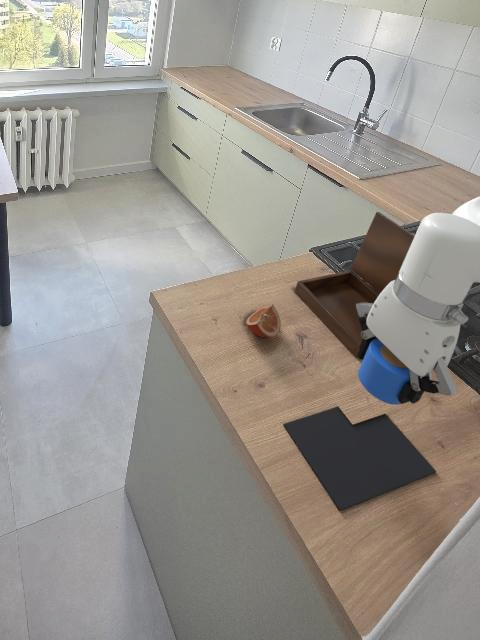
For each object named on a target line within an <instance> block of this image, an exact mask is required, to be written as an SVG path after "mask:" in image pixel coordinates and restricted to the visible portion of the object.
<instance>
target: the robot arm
mask: <svg viewBox="0 0 480 640" xmlns="http://www.w3.org/2000/svg"><path fill="white" fill-rule="evenodd" d="M414 234H415V237H414V239H413V241H412V244H411V246H410V248H409V250H408V253H407V255H406V257H405V260H404V262H403V264H402V267H401V269H400V271H399V273H398V275H397V278H396V280H393V281H391V282H390V283H389V284H388V285H387V286H386V287H385V288H384V290H383V291H382V292H381V293H379V294H380V295H379V296H378V298H377V299H376V301H375V302H374V304H373V303H364V302H362V303H358V304H356V308H357V312H358V315H359V316H360V318H359V322H360V325H361V328H362V332H361V336H362V338H363V340H362V342H361V344H360V346H359V348H360V350H359V353H358V355H357V357H356V358H358V359H359V360H361V361H363V359H364V356H365V354H366V352H367V350H368V347H369V345H370V343H371V342H372V341H373V340H374V339H379V340H380V341H381V342H382V343H383V344H384V345H385V346H386V347H387V348H388V349H389V350H390V351H391V352H392V353H393V354H394V355H395V356H396V357H397V358H398V359H399V360H400V361H402V362H403V363H404V364H405V365H406V366H407V367H408V368H409V372H410V381H411V382H408V383H406V384H405V385H404V387H403V389H402V391H401V393H400V395H399V397H398V401H399V402H400V403H401V404H400V405H404V404H407V403H411V405H412V404H413V405H414V404H416V403H418V402H419V401H421V398H422V397H423V395H424V393H429V394H438V395H444V396H453V395H457V394H458V393H459V390H458V387H457V385H456V383H455V380H454V378H453V377H452V374H451V371H450V369H449V367H448V366H449V363H450V362H451V359H452V357H453V354H454V352H455V349H456V346H457V343H458V341H459V335H460V331H461V325H464V324H466V323H467V322H468V321H469V317H468V316H467V315H466V314H465V313H464V312H463V311H462V309H463V307H464V305H465V303H464V300H465V298H466V297H467V295H468V293H469V292H470V289H471V288H472V286H473V284H474V283H478V284H480V195H479V196H477V197H475V198H473V199H471V200H469V201H466V202H465V203H463V204H462V205H460V206H458V207H457V208H455V210H454V211H453V212H452V213H447V212H434V213H430V214H428V215H426V216H425V217H423V219H421V221H420V223H419V226H418V228H417V230H416V233H414ZM433 371H434V373H435V376H436V378H437V380H433V374H432V372H433Z"/></svg>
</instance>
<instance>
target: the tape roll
mask: <svg viewBox="0 0 480 640" xmlns="http://www.w3.org/2000/svg"><path fill="white" fill-rule="evenodd" d="M357 377H358V380H359V381H360V383H361V385H362V387H363V388H364V389H365V390H366V391H367V392H368V393H369V394H370V395H371V396H373V397H374V398H376V399H377V400H379V401H381V402H383V403H386V404H389V405H394V406H398V405H399V406H400V405H402V404H401V403H400V402H399V401H398V397H399V395H400V393H401V391H402V389H403V387H404V385H405V384H406V383H408V382H411V381H410V372H409V368H408V367H407V366H406V365H405V364H404V363H403V362H402V361H400V360H399V359H398V358H397V357H396V356H395V355H394V354H393V353H392V352H391V351H390V350H389V349H388V348H387V347H386V346H385V345H384V344H383V343H382V342H381V341H380V340H379V339H374V340H373V341H372V342H371V343H370V345H369V347H368V350H367V352H366V354H365V356H364V359H363V360H361V363H360V365H359V368H358V371H357Z"/></svg>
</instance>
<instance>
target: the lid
mask: <svg viewBox="0 0 480 640" xmlns="http://www.w3.org/2000/svg"><path fill="white" fill-rule="evenodd" d="M415 234H416V233H413V232H410V231H408V230H407V229H406V228H404V227H402V226H401V225H399V224H398V223H396V222H395V221H393V220H392V219H391V218H389V217H387V216H386V215H384V214H383V213H381V212H380V211H376V212H375V214H374V217H373V219H372V221H371V223H370V225H369V228H368V229H367V232H366V234H365V236H364V238H363V240H362V242H361V245H360V247H359V250H358V251H357V254H356V256H355V258H354V260H353V263H352V265H351V267H350V270H352V271H353V272H354V273H355V274H356V275H357V276H359V277H360V278H361V279H362V280H363V281H364V282H366V283H367V284H368V285H369V286H370V287H371V288H373V289H374V290H375V291H376V292H377V293H378V294H380V293H381V292H382V291H383V290H384V288H385V287H386V286H387V285H388V284H389V283H390V282H391V281H393V280H396V278H397V275H398V273H399V271H400V269H401V267H402V264H403V262H404V260H405V257H406V255H407V253H408V250H409V248H410V246H411V244H412V241H413V239H414V237H415Z"/></svg>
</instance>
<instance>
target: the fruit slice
mask: <svg viewBox="0 0 480 640" xmlns="http://www.w3.org/2000/svg"><path fill="white" fill-rule="evenodd" d="M245 324H246V327H247V328H248V329H249V330H250V332H252V333H253V334H255V335H256V336H258V337H261V338H275V337H277V336H278V335H279V334H280V331H281V325H282V322H281V318H280V315H279V312H278V310H277V308H276V306H275V305H274V304H273V303H272V304H266V305H263V306H262V307H260V308H259V309H257V310H256V311H254V312H253V313H251V314H250V315H249V316H248V318H246V320H245Z"/></svg>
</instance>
